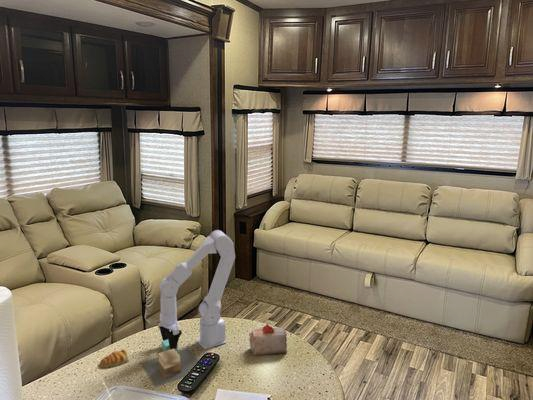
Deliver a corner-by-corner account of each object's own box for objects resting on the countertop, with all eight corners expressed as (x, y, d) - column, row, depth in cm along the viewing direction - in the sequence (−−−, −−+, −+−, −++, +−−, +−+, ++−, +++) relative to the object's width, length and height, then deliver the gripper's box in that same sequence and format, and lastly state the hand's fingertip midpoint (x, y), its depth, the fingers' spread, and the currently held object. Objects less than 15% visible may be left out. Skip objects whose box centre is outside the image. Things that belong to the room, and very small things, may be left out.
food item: (251, 358, 148) (252, 333, 146) (248, 346, 156) (248, 322, 154) (288, 354, 151) (288, 330, 149) (283, 343, 158) (283, 320, 157)
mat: (187, 349, 153) (187, 348, 153) (206, 370, 140) (206, 369, 140) (140, 363, 143) (140, 362, 143) (155, 387, 130) (155, 386, 130)
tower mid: (174, 356, 142) (173, 348, 142) (180, 364, 138) (180, 355, 137) (158, 361, 139) (158, 353, 138) (164, 369, 135) (164, 360, 134)
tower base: (174, 363, 143) (174, 355, 142) (181, 372, 138) (181, 364, 138) (158, 369, 140) (157, 361, 139) (164, 377, 135) (164, 369, 134)
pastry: (103, 372, 138) (103, 362, 138) (97, 363, 143) (96, 353, 143) (130, 363, 144) (130, 353, 143) (123, 355, 149) (123, 345, 149)
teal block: (173, 346, 155) (173, 337, 155) (177, 351, 152) (177, 343, 151) (161, 349, 153) (161, 341, 152) (166, 355, 149) (165, 346, 149)
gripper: (151, 305, 153) (152, 338, 155) (165, 320, 141) (166, 356, 144) (169, 301, 157) (170, 334, 159) (184, 315, 145) (184, 350, 148)
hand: (169, 344), depth 152 cm, fingers open, 7 cm apart
